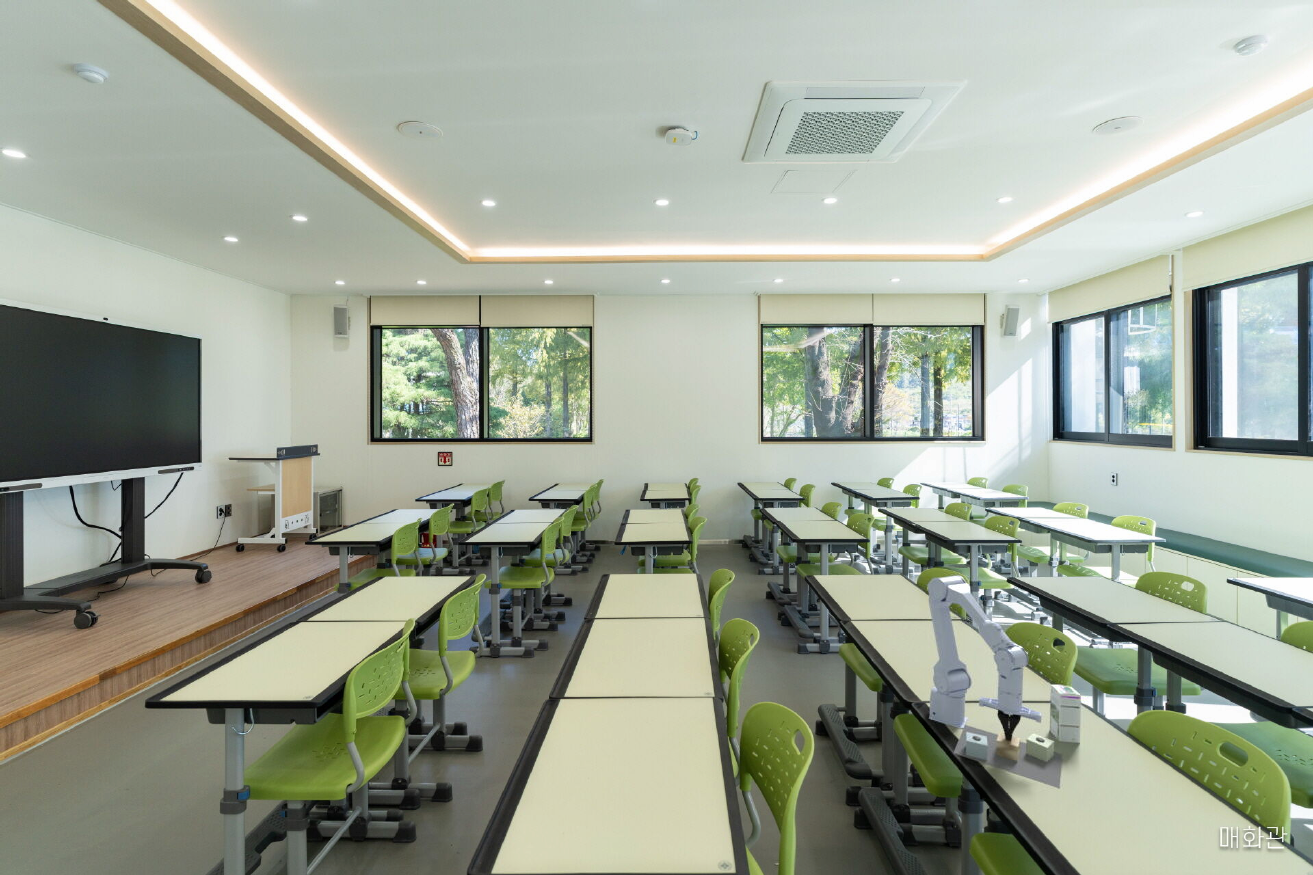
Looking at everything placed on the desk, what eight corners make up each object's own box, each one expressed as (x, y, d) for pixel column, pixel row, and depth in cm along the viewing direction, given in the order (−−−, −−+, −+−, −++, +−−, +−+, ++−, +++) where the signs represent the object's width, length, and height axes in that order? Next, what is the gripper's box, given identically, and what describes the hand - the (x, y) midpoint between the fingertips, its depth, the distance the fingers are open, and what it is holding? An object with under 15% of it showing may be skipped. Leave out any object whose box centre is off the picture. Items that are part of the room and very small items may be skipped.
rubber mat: (953, 754, 157) (953, 752, 157) (965, 725, 172) (965, 724, 171) (1059, 789, 143) (1059, 787, 143) (1062, 755, 157) (1062, 754, 157)
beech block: (996, 754, 157) (996, 740, 156) (998, 745, 161) (999, 732, 160) (1017, 761, 154) (1018, 746, 153) (1019, 752, 158) (1020, 738, 157)
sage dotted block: (1026, 753, 157) (1026, 738, 157) (1033, 746, 160) (1033, 732, 160) (1046, 762, 153) (1047, 746, 153) (1053, 755, 156) (1054, 740, 156)
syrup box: (1080, 744, 162) (1082, 694, 162) (1057, 742, 163) (1059, 692, 163) (1070, 733, 168) (1072, 685, 167) (1048, 731, 169) (1049, 683, 168)
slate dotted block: (966, 754, 156) (966, 739, 156) (965, 745, 161) (966, 730, 161) (987, 760, 154) (987, 744, 154) (986, 750, 158) (986, 735, 158)
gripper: (977, 687, 158) (976, 735, 158) (1040, 704, 149) (1039, 754, 149) (981, 678, 163) (980, 724, 164) (1042, 693, 154) (1041, 742, 155)
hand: (1008, 738), depth 157 cm, fingers closed
